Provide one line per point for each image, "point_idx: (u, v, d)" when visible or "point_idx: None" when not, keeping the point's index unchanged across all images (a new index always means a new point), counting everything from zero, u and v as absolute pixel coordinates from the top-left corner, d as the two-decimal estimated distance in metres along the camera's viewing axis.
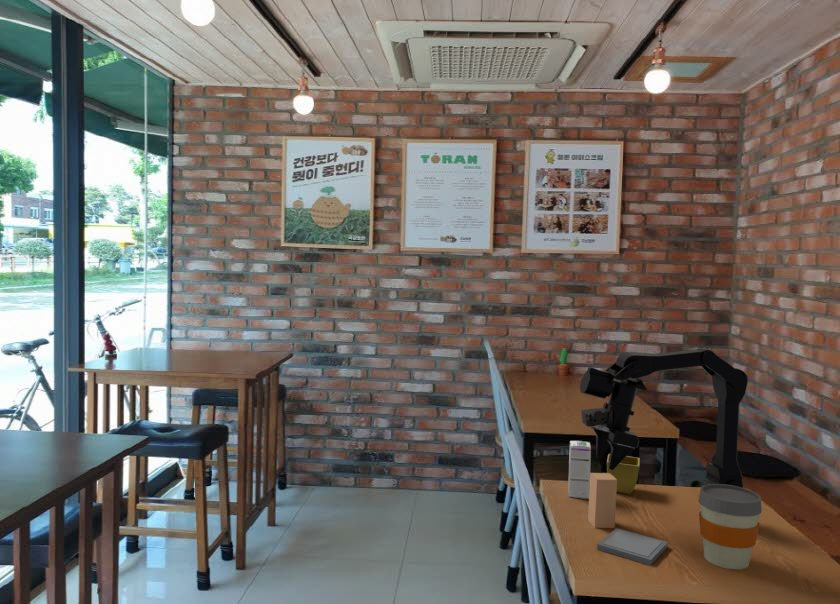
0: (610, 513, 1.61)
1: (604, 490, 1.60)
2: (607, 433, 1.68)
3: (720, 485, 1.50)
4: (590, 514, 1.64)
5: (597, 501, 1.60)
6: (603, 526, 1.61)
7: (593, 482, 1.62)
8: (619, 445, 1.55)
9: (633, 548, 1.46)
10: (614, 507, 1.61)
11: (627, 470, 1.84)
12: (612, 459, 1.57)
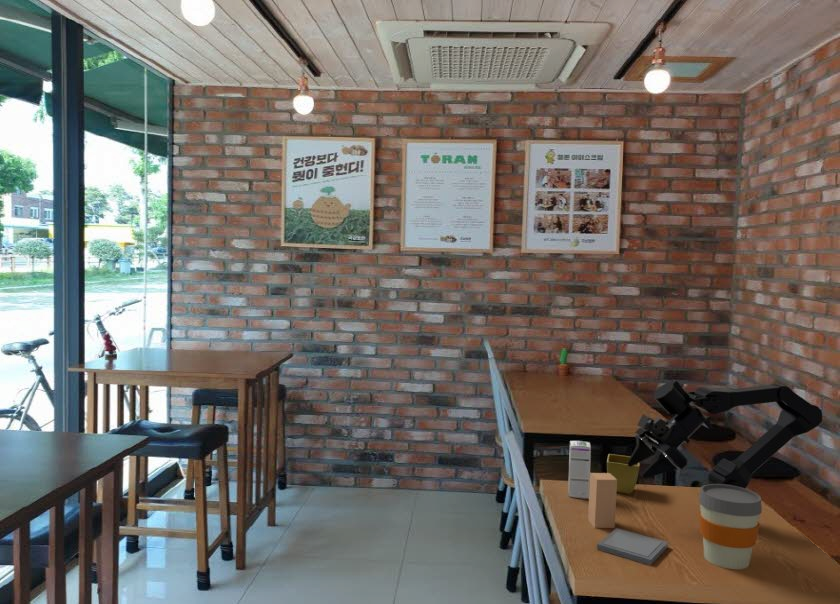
0: (610, 513, 1.61)
1: (604, 490, 1.60)
2: (648, 449, 1.68)
3: (720, 485, 1.50)
4: (590, 514, 1.64)
5: (597, 501, 1.60)
6: (603, 526, 1.61)
7: (593, 482, 1.62)
8: (667, 459, 1.55)
9: (633, 548, 1.46)
10: (614, 507, 1.61)
11: (627, 470, 1.84)
12: (650, 468, 1.57)
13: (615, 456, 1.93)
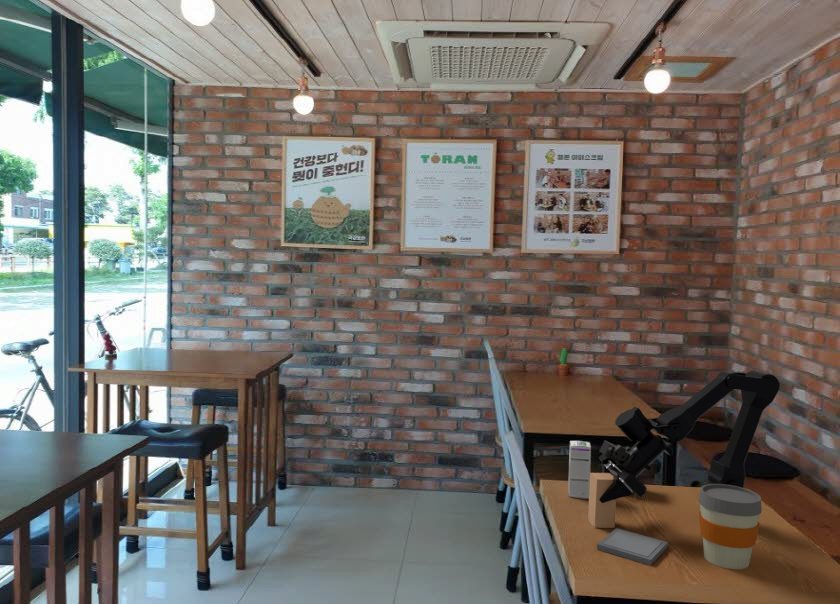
0: (610, 513, 1.61)
1: (604, 490, 1.60)
2: None
3: (720, 485, 1.50)
4: (590, 514, 1.64)
5: (597, 501, 1.60)
6: (603, 526, 1.61)
7: (593, 482, 1.62)
8: (623, 484, 1.57)
9: (633, 548, 1.46)
10: (614, 507, 1.61)
11: None
12: (608, 493, 1.59)
13: None
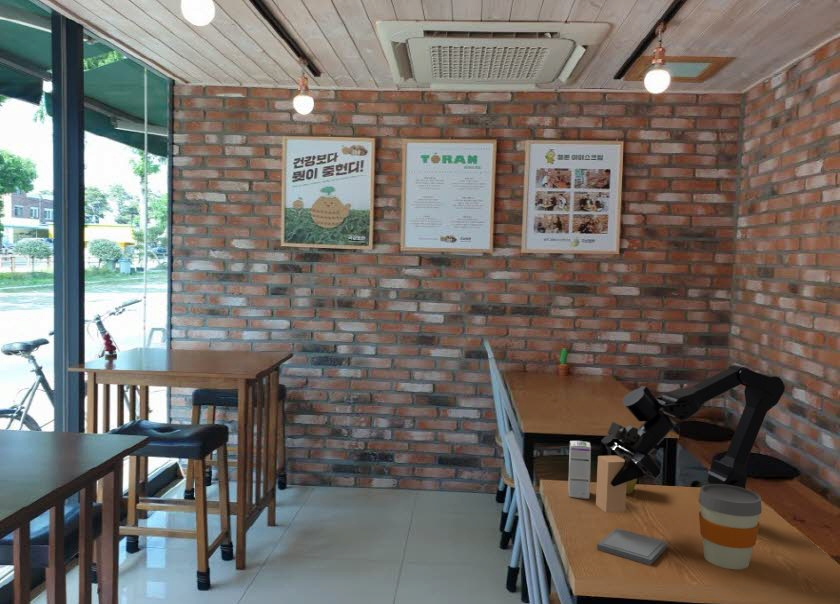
0: (621, 496, 1.56)
1: (615, 473, 1.55)
2: None
3: (720, 485, 1.50)
4: (599, 498, 1.58)
5: (609, 485, 1.55)
6: (614, 510, 1.55)
7: (603, 465, 1.56)
8: (636, 465, 1.52)
9: (633, 548, 1.46)
10: (625, 490, 1.56)
11: None
12: (620, 476, 1.54)
13: None
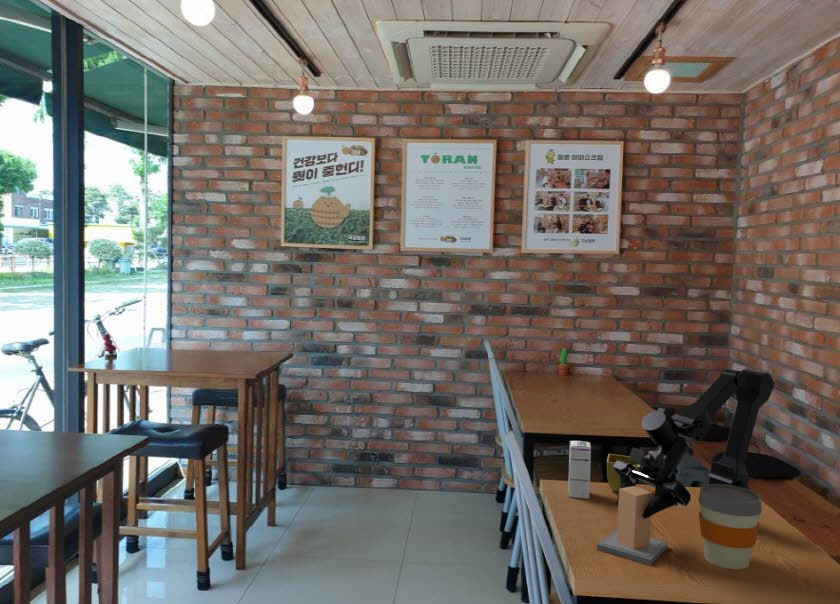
0: (646, 529, 1.48)
1: (641, 506, 1.46)
2: (632, 484, 1.54)
3: (720, 485, 1.50)
4: (622, 534, 1.49)
5: (636, 519, 1.46)
6: (640, 545, 1.47)
7: (628, 499, 1.47)
8: (670, 495, 1.44)
9: None
10: (649, 522, 1.48)
11: None
12: (651, 507, 1.45)
13: (615, 456, 1.93)
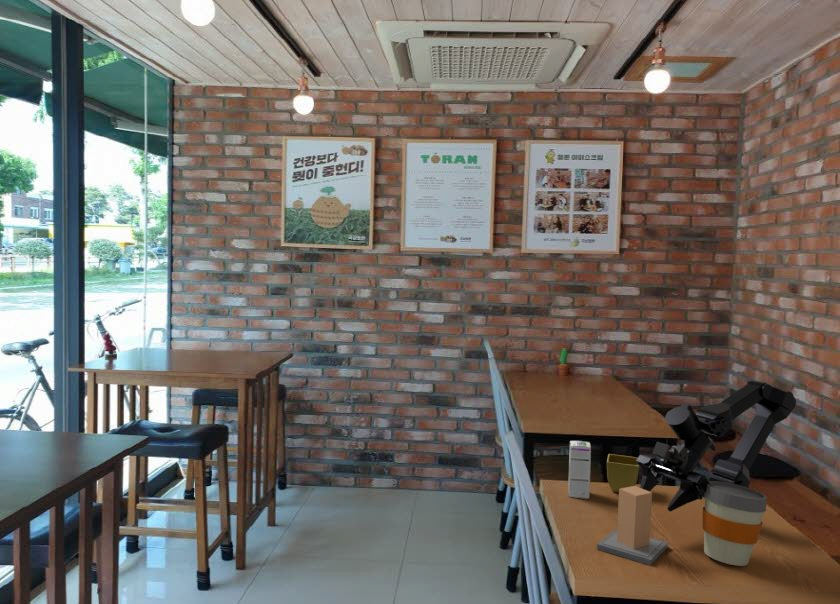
0: (646, 529, 1.48)
1: (641, 506, 1.46)
2: (654, 477, 1.59)
3: (728, 484, 1.51)
4: (622, 534, 1.49)
5: (636, 519, 1.46)
6: (640, 545, 1.47)
7: (628, 499, 1.47)
8: (695, 488, 1.47)
9: None
10: (649, 522, 1.48)
11: (627, 470, 1.84)
12: (677, 500, 1.48)
13: (615, 456, 1.93)
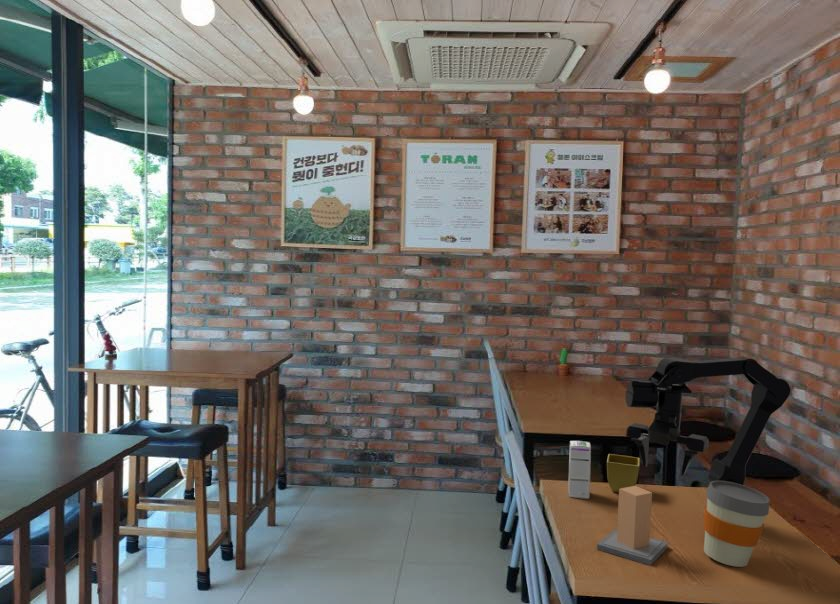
0: (646, 529, 1.48)
1: (641, 506, 1.46)
2: (646, 440, 1.68)
3: (733, 483, 1.49)
4: (622, 534, 1.49)
5: (636, 519, 1.46)
6: (640, 545, 1.47)
7: (628, 499, 1.47)
8: (698, 451, 1.59)
9: None
10: (649, 522, 1.48)
11: (627, 470, 1.84)
12: (687, 466, 1.61)
13: (615, 456, 1.93)
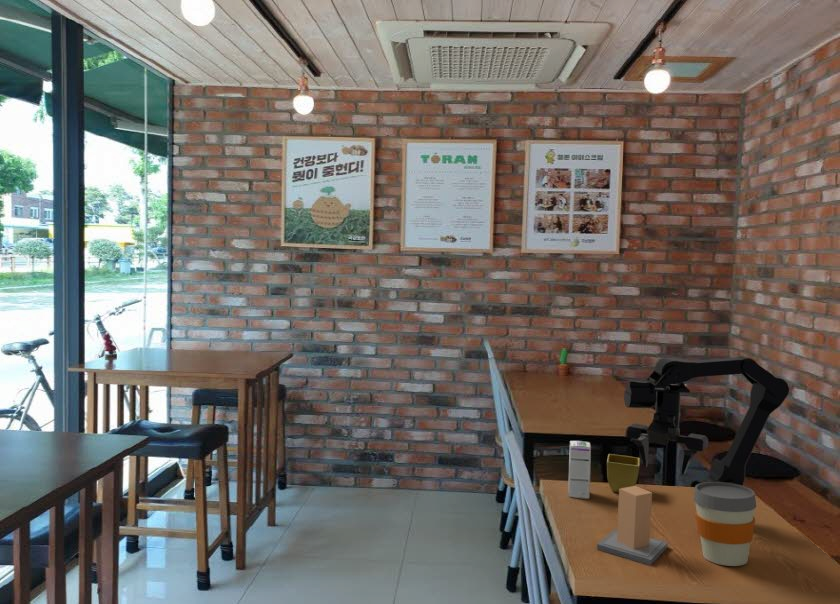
0: (646, 529, 1.48)
1: (641, 506, 1.46)
2: (646, 440, 1.69)
3: (720, 483, 1.51)
4: (622, 534, 1.49)
5: (636, 519, 1.46)
6: (640, 545, 1.47)
7: (628, 499, 1.47)
8: (698, 451, 1.59)
9: None
10: (649, 522, 1.48)
11: (627, 470, 1.84)
12: (687, 465, 1.61)
13: (615, 456, 1.93)
